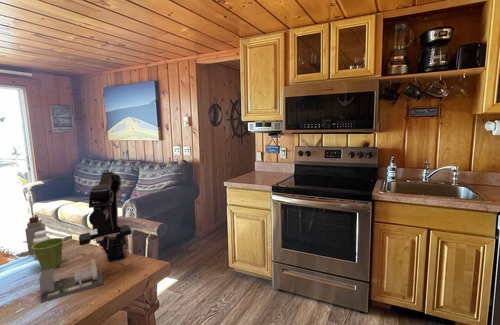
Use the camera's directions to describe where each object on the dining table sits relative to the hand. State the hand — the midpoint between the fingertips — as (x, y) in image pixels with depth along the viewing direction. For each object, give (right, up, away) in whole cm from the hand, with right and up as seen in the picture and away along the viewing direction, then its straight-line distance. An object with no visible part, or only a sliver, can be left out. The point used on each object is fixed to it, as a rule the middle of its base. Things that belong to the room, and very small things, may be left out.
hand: (107, 254), depth 117 cm
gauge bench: (-10, -10, -6) cm, 16 cm away
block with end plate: (-7, -9, -4) cm, 11 cm away
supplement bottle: (-42, -8, +21) cm, 47 cm away
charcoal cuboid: (-11, -9, -12) cm, 19 cm away
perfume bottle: (-49, -8, +28) cm, 57 cm away
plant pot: (-31, -9, +11) cm, 34 cm away
